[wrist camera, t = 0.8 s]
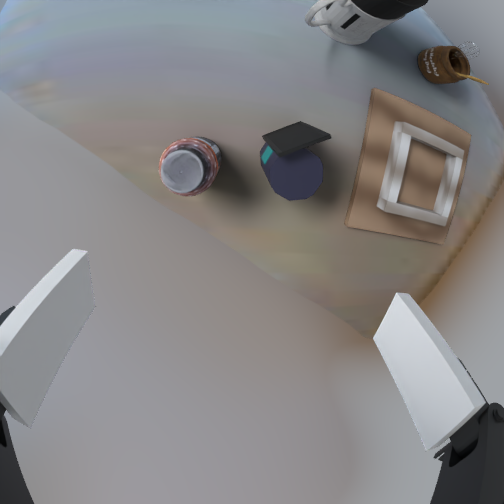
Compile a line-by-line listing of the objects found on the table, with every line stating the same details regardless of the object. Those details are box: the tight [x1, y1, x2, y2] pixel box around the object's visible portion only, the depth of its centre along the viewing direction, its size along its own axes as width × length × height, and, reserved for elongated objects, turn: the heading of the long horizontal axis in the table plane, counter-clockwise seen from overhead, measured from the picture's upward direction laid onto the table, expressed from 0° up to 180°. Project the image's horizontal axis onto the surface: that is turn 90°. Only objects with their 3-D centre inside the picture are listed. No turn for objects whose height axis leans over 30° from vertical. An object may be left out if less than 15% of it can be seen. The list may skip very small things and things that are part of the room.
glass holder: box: [305, 0, 428, 45], centre depth 18 cm, size 9×14×15 cm, turn 127°
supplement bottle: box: [159, 137, 221, 196], centre depth 28 cm, size 6×6×11 cm
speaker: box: [260, 121, 331, 201], centre depth 29 cm, size 8×6×10 cm
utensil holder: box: [418, 42, 489, 85], centre depth 21 cm, size 6×6×12 cm
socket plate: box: [344, 88, 471, 245], centre depth 33 cm, size 20×20×4 cm
